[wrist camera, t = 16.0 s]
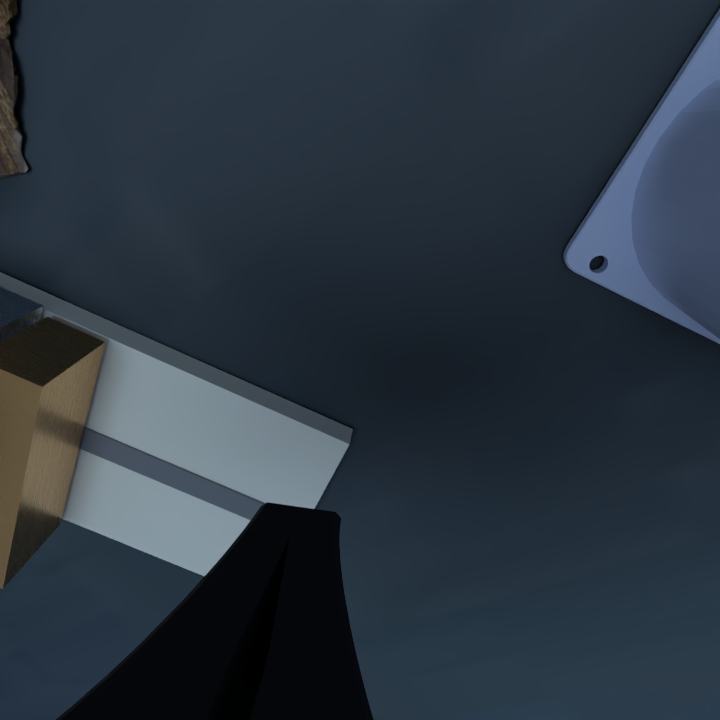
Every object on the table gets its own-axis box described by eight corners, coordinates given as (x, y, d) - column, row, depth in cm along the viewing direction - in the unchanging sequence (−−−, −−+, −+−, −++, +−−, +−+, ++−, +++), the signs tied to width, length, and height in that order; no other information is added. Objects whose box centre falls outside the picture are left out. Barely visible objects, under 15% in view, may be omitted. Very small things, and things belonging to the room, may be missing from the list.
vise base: (352, 429, 19) (334, 512, 15) (270, 581, 23) (238, 680, 19) (-129, 214, 18) (-292, 244, 14) (-132, 417, 21) (-261, 486, 17)
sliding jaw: (105, 341, 17) (42, 386, 14) (59, 524, 21) (2, 588, 18) (38, 312, 17) (-39, 352, 14) (5, 502, 21) (-62, 563, 18)
